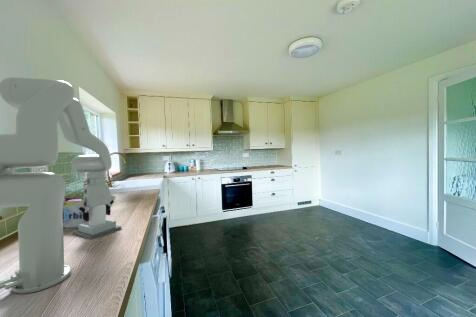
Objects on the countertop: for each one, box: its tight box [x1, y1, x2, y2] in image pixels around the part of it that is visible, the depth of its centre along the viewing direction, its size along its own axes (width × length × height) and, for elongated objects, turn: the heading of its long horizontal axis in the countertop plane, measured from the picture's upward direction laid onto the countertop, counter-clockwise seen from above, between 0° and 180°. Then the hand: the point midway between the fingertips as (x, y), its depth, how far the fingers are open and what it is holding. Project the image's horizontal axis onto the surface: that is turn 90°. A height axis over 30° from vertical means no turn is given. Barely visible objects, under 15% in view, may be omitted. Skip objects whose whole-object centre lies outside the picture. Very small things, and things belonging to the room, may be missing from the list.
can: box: [89, 204, 107, 227], centre depth 99 cm, size 6×6×12 cm
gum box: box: [63, 197, 89, 229], centre depth 109 cm, size 24×8×14 cm, turn 90°
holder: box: [72, 218, 122, 240], centre depth 99 cm, size 14×14×4 cm
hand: (97, 217), depth 99 cm, fingers open, 9 cm apart
